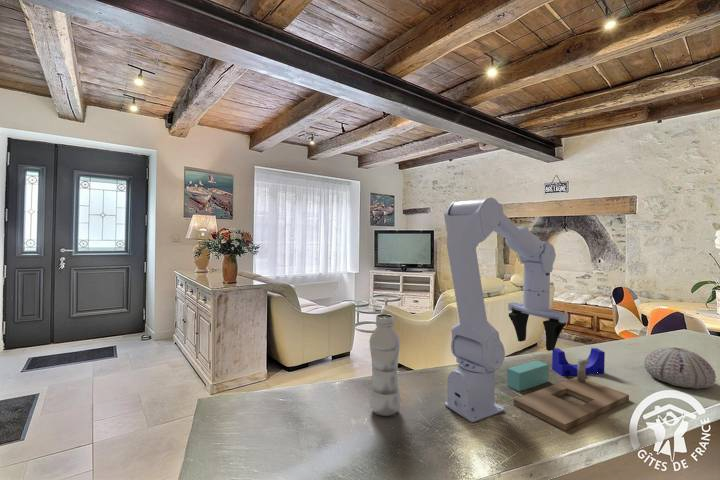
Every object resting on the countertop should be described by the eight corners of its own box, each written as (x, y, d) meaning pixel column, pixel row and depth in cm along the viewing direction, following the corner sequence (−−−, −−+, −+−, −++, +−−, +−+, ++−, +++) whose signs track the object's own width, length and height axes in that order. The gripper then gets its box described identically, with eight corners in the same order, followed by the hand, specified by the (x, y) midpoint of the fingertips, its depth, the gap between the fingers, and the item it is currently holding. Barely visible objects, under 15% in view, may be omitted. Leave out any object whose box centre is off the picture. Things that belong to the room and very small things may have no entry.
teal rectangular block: (519, 392, 80) (519, 373, 80) (507, 386, 82) (507, 368, 82) (548, 382, 85) (548, 364, 85) (536, 377, 88) (536, 360, 88)
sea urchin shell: (732, 390, 80) (733, 357, 80) (685, 395, 78) (686, 360, 77) (671, 368, 93) (672, 339, 93) (629, 371, 91) (630, 341, 90)
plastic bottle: (375, 422, 67) (375, 321, 66) (365, 405, 73) (365, 313, 73) (405, 417, 68) (405, 319, 68) (393, 401, 75) (393, 311, 74)
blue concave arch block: (562, 377, 88) (562, 354, 88) (552, 370, 92) (552, 348, 92) (608, 377, 88) (608, 354, 88) (596, 370, 92) (596, 348, 92)
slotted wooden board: (564, 430, 64) (565, 398, 64) (513, 404, 74) (513, 376, 73) (630, 399, 76) (630, 372, 75) (578, 380, 85) (579, 356, 85)
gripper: (576, 293, 79) (575, 351, 79) (520, 285, 92) (520, 335, 92) (558, 296, 76) (556, 356, 76) (503, 286, 89) (502, 338, 89)
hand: (535, 345), depth 84 cm, fingers open, 7 cm apart
